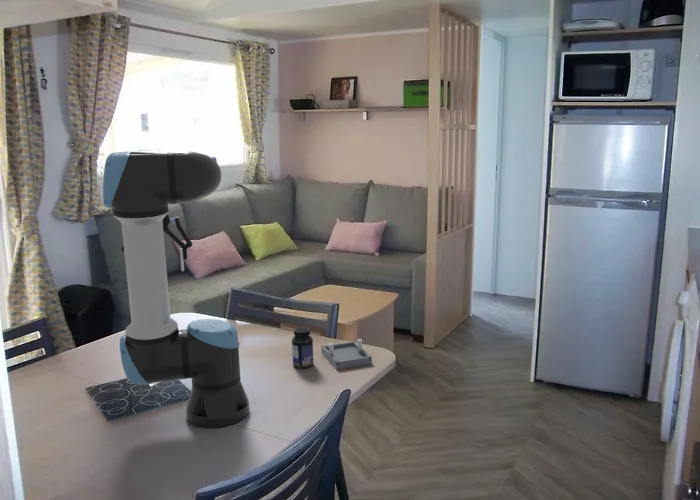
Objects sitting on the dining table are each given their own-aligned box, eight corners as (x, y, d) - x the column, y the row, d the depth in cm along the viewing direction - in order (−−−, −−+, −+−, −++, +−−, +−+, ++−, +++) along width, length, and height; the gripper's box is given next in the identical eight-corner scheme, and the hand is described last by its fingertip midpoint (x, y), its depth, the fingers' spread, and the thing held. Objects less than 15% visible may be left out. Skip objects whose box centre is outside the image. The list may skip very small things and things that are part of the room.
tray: (371, 363, 177) (371, 347, 176) (336, 369, 173) (336, 352, 172) (354, 347, 190) (354, 332, 189) (321, 352, 186) (321, 337, 185)
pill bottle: (315, 361, 179) (314, 326, 177) (311, 369, 173) (310, 333, 171) (294, 360, 180) (293, 326, 178) (290, 368, 174) (289, 333, 172)
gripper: (197, 198, 183) (201, 266, 188) (111, 202, 178) (117, 271, 182) (197, 201, 176) (201, 271, 180) (107, 205, 170) (114, 277, 175)
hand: (159, 271), depth 181 cm, fingers open, 13 cm apart
